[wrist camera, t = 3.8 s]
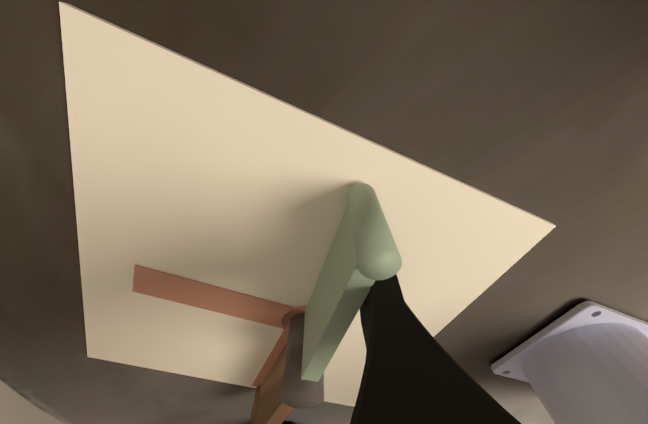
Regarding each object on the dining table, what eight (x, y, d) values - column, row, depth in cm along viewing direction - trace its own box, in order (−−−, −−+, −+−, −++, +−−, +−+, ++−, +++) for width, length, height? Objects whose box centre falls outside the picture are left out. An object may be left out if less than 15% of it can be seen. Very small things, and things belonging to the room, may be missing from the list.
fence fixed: (328, 316, 15) (331, 393, 12) (274, 393, 20) (265, 463, 16) (296, 307, 15) (289, 384, 11) (249, 388, 19) (234, 459, 16)
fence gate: (379, 187, 10) (409, 253, 7) (322, 314, 14) (322, 394, 11) (351, 180, 10) (367, 244, 7) (301, 310, 14) (295, 391, 11)
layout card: (551, 222, 12) (557, 227, 12) (355, 403, 22) (356, 408, 21) (67, 3, 8) (55, 0, 7) (90, 352, 17) (86, 358, 17)
